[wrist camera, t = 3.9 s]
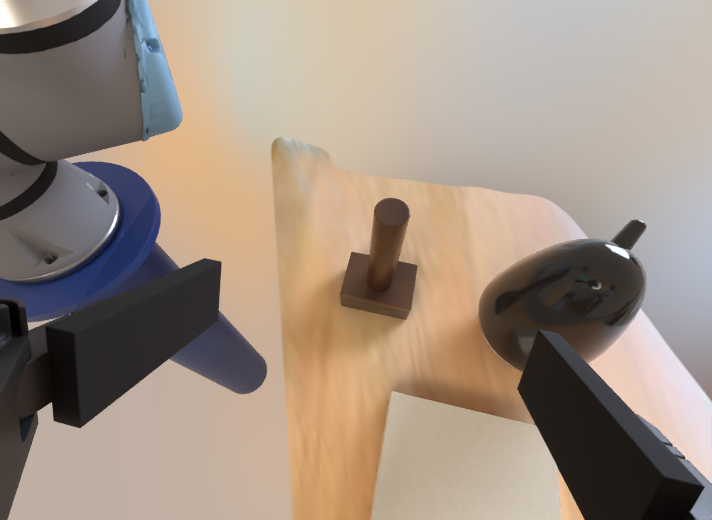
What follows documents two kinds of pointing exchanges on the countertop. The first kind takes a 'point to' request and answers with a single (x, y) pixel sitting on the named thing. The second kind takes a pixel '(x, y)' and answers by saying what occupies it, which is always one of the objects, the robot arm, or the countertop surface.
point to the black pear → (565, 297)
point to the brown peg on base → (382, 266)
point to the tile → (461, 466)
